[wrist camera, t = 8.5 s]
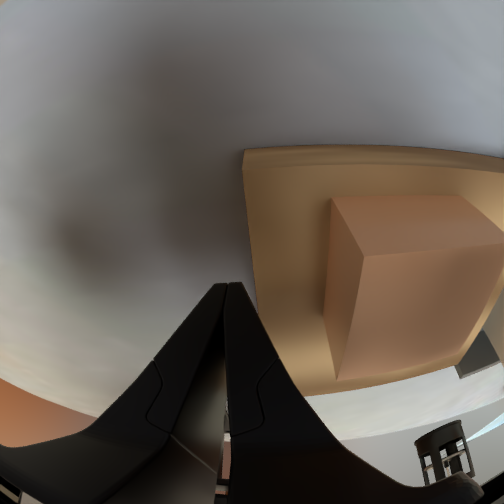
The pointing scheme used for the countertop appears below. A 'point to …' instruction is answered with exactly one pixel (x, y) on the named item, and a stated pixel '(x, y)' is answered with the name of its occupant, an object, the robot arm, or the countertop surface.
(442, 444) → the french press
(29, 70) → the countertop surface
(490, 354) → the tray
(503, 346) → the cream rectangular block
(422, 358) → the tan cardboard box
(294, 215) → the oak board
